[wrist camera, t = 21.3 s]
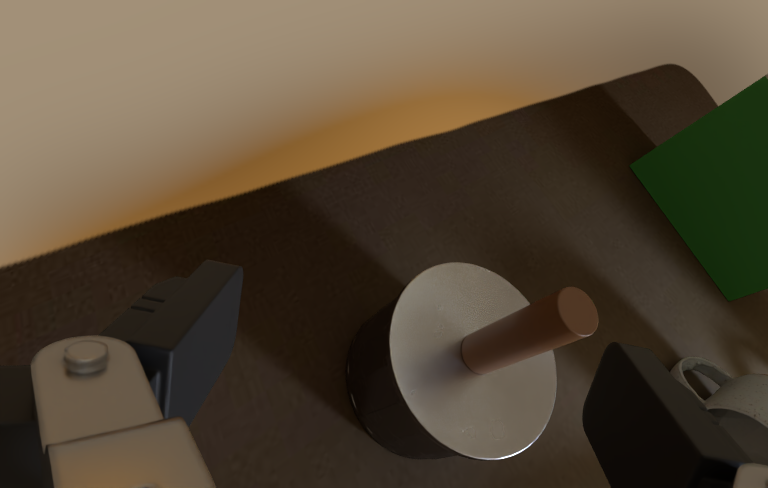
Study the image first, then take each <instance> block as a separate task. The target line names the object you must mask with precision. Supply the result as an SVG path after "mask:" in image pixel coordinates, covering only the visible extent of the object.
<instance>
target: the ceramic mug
mask: <svg viewBox="0 0 768 488" xmlns="http://www.w3.org/2000/svg"><path fill="white" fill-rule="evenodd" d="M691 369H694V370H696V371H699V372H701V373H702V374H704V375H706V376H707V377H709V378H710V379H711V380H713V381H714V382H715V383H717V384H718V385H719V386H720V387H721V388H719V389H718V390H717V391H716V392H715V394H713V395H712V396H710V397H709V398H708V399H706V400H703V399H702V398H700V397H699V396H698V395H697V393H696V392H695V391H694V390H693V388H692V387H691V386H690V385H689V383H688V382H687V380H686V379H685V377H684V375H683V371H685V370H691ZM670 373H671V374H672V376H673V377H674V378H675V379H676V380H677V381H679V382H680V383H681V384H683V385H684V386H685V387H687V388H688V389H690V390H691V391H692V392H693V393H694V394H695V395H696V396H697V397H698V399H699V400H700V401H701V402H702V403H703V404H704V405H705V407H706V408H707V412H711V414H712V415H713V416H714V417H715V418H716V419H717V421H718V422H719V426H723V428H724V429H725V430H726V431H727V432H728V433H729V435H730V436H731V437H732V438H733V439H734V440H735V441H736V443H737V444H738V445H739V446H740V447H741V448H742V450H743V451H744V452H745V453H746V454H747V455H748V457H749V458H750V459H751V460H752V461H753V462H754V463H755V464H761V465H766V466H768V375H766V374H748V375H744V376H740V377H738V378H733V377H732V376H730V375H729V374H728V373H727V372H726V371H724V370H723V369H721V368H720V367H719V366H717V365H716V364H714V363H712V362H711V361H709V360H707V359H704V358H700V357H695V356H690V357H686V358H683V359H681V360H680V361H679V362H678V363H677V364H676V365H675V366H674V367H673V368H672V369H671V371H670Z"/></svg>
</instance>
